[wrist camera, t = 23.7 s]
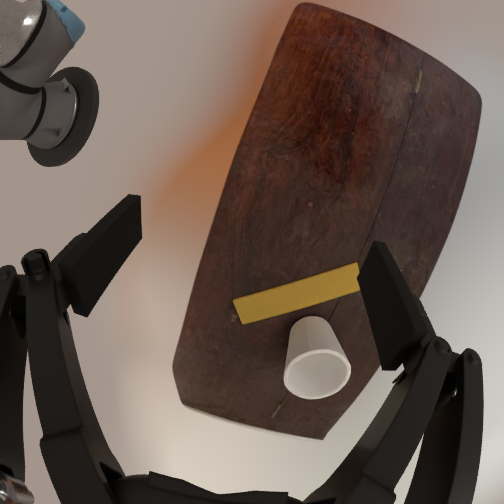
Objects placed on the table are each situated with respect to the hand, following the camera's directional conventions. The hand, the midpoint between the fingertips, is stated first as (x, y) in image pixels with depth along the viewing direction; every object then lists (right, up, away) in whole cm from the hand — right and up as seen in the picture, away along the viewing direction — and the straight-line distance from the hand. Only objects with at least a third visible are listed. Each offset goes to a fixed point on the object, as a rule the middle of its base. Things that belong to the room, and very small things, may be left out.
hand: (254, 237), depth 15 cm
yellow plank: (+8, -8, +32) cm, 33 cm away
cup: (+10, -15, +33) cm, 38 cm away
